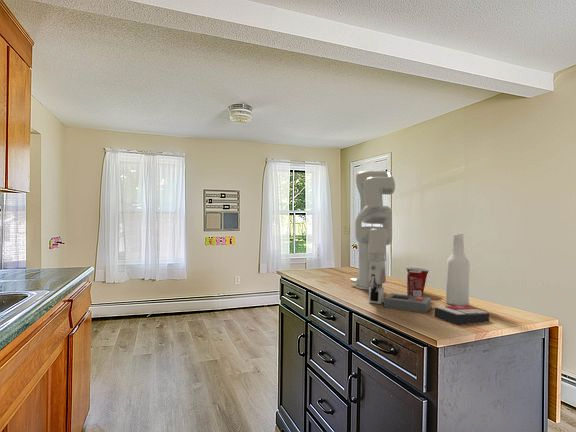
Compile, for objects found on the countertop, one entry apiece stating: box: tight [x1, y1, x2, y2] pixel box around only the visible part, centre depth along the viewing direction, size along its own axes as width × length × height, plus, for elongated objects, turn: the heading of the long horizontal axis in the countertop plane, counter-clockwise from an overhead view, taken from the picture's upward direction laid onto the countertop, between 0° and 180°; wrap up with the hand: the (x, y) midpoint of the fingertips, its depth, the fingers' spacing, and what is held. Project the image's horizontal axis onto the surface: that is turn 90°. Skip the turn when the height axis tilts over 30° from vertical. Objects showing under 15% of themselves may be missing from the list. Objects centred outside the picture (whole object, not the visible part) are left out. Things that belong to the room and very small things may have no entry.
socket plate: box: [383, 292, 432, 314], centre depth 147 cm, size 16×12×4 cm
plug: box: [368, 283, 385, 305], centre depth 153 cm, size 5×5×8 cm
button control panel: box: [433, 305, 490, 326], centre depth 131 cm, size 11×4×15 cm
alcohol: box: [445, 233, 470, 306], centre depth 153 cm, size 9×9×30 cm
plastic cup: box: [405, 267, 430, 293], centre depth 175 cm, size 11×11×12 cm
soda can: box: [406, 270, 424, 297], centre depth 165 cm, size 7×7×12 cm
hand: (376, 299), depth 154 cm, fingers closed on plug, 4 cm apart
